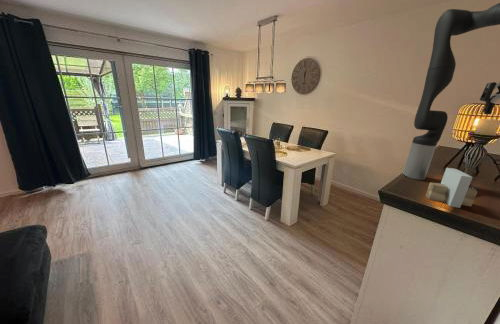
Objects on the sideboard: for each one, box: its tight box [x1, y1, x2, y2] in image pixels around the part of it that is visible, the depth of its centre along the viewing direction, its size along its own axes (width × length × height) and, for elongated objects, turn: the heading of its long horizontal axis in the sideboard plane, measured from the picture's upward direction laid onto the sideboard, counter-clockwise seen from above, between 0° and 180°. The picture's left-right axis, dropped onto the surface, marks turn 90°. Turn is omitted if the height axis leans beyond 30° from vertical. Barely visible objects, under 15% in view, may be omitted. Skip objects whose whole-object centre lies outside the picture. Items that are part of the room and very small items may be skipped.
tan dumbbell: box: [425, 182, 478, 207], centre depth 77 cm, size 3×13×6 cm, turn 70°
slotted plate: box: [440, 167, 474, 209], centre depth 76 cm, size 10×3×12 cm, turn 160°
